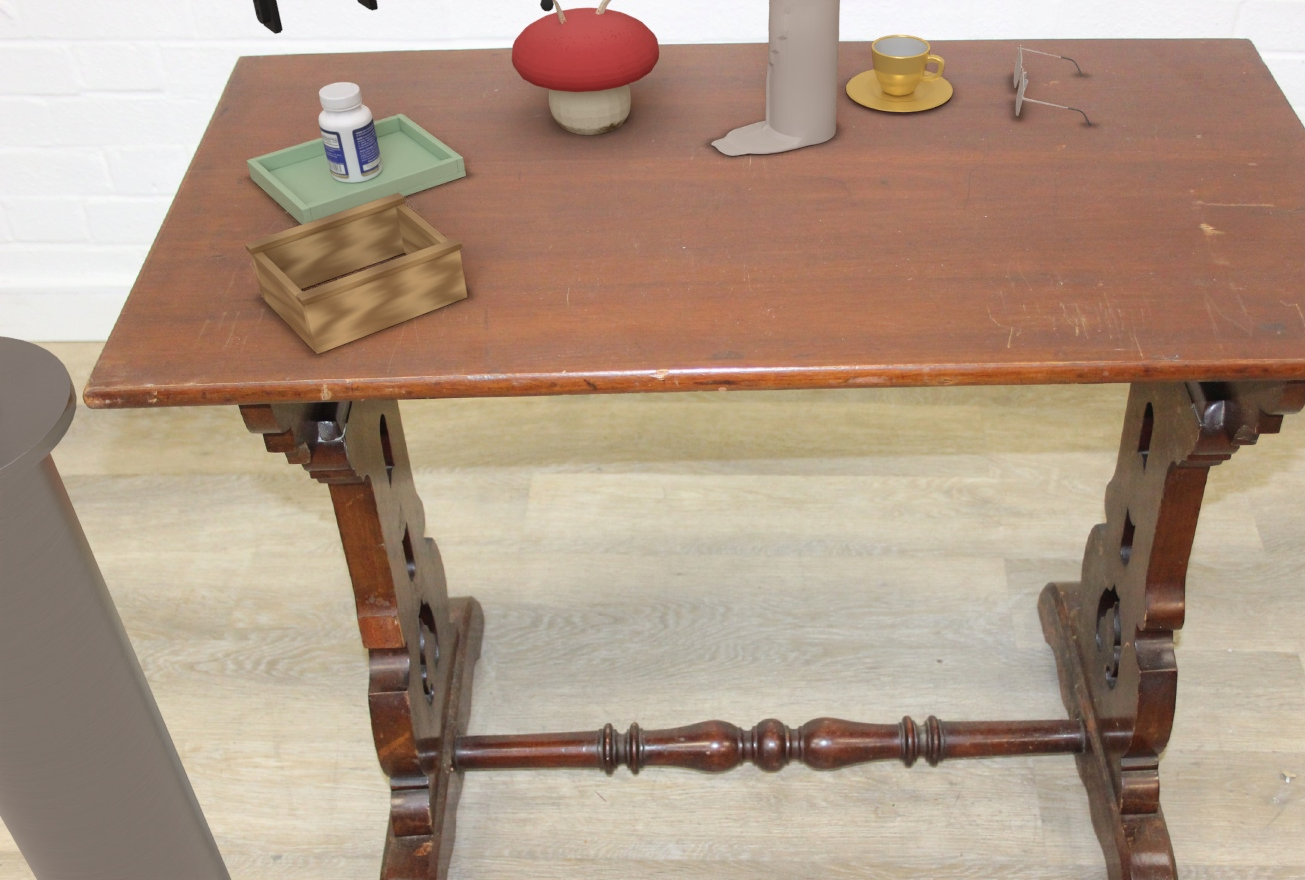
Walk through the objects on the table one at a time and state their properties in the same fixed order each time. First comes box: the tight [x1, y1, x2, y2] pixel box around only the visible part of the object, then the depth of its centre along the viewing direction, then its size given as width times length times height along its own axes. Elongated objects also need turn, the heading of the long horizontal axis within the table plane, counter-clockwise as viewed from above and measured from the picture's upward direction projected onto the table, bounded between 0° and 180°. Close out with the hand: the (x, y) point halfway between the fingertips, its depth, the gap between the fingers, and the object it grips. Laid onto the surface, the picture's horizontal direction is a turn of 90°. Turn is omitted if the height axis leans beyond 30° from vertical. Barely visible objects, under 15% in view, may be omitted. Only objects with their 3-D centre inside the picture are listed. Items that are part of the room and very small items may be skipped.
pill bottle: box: [318, 81, 383, 183], centre depth 141 cm, size 5×5×9 cm
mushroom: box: [511, 0, 660, 136], centre depth 149 cm, size 16×16×15 cm
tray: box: [246, 113, 467, 225], centre depth 144 cm, size 18×14×2 cm
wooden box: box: [244, 193, 468, 355], centre depth 124 cm, size 15×12×6 cm
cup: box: [845, 34, 954, 113], centre depth 157 cm, size 12×12×5 cm
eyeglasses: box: [1013, 44, 1093, 126], centre depth 156 cm, size 14×8×4 cm, turn 173°
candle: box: [710, 0, 841, 157], centre depth 144 cm, size 7×14×20 cm, turn 116°
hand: (321, 17), depth 133 cm, fingers open, 9 cm apart
